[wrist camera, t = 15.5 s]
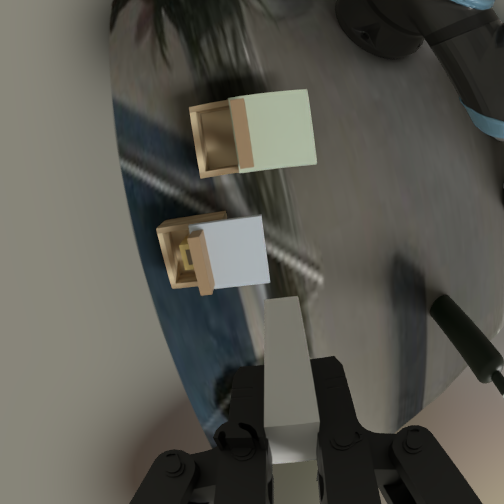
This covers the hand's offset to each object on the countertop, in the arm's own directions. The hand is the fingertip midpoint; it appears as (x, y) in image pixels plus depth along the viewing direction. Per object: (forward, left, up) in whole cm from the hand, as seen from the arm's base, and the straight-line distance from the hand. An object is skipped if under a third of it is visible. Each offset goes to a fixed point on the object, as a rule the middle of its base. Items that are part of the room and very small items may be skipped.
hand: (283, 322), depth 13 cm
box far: (+7, -11, -32) cm, 34 cm away
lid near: (-9, +2, -27) cm, 28 cm away
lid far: (+7, -6, -27) cm, 28 cm away
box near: (-9, -3, -32) cm, 33 cm away
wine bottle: (+27, +35, -32) cm, 54 cm away
